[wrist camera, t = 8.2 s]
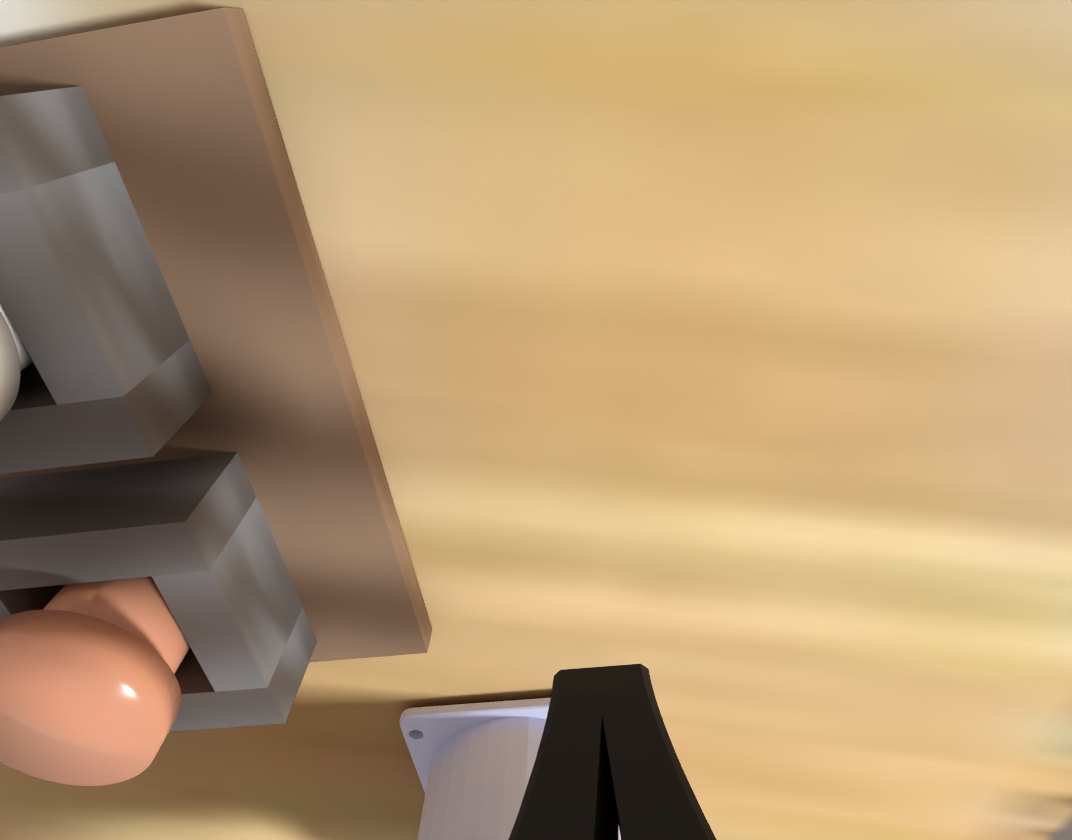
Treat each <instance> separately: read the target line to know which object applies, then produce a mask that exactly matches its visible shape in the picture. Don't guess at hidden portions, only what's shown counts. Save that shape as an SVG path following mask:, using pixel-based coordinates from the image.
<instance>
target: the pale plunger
mask: <svg viewBox="0 0 1072 840" xmlns="http://www.w3.org/2000/svg"><path fill="white" fill-rule="evenodd" d="M33 363H34V362H33V361H32V359H31V357H30V355H29V353H28V351H27V350H26V348H25V346H24V344H23V342H22V341H21V339H20V337H19V335H18V333H17V332H16V330H15V328H14V326H13V324H12V322H11V321H10V319H9V317H8V315H7V313H6V312H5V310H4V308H3V306H2V304H1V302H0V421H1V420H2V419H3V418H4V417H5V416H6V414H7V413H8V412H9V411H10V409H11V408H12V406H13V404H14V402H15V400H16V397H17V394H18V390H19V385H20V371H22V370H23V369H25V368H26V367H28V366H29V365H31V364H33Z"/></svg>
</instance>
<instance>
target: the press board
mask: <svg viewBox="0 0 1072 840" xmlns="http://www.w3.org/2000/svg"><path fill="white" fill-rule="evenodd" d="M0 302H1V304H2V306H3V308H4V310H5V312H6V313H7V315H8V317H9V319H10V321H11V322H12V324H13V326H14V328H15V330H16V332H17V333H18V335H19V337H20V339H21V341H22V342H23V344H24V346H25V348H26V350H27V351H28V353H29V355H30V357H31V359H32V361H33V362H34V363H33V364H31V365H29V366H28V367H26V368H25V369H23V370H22V371H20V385H19V390H18V394H17V397H16V400H15V402H14V404H13V406H12V408H11V409H10V411H9V412H8V413H7V414H6V416H5V417H4V418H3V419H2V420H1V421H0V620H2V619H3V618H6V617H8V616H10V615H13V614H16V613H20V612H24V611H31V610H43V609H44V608H45V606H46V605H47V604H48V603H49V602H50V601H51V600H52V598H53V597H54V596H55V595H56V594H57V593H58V592H59V591H60V589H61V588H62V587H63V586H64V585H65V584H76V583H86V582H97V581H107V580H118V579H128V578H138V577H149V576H152V578H153V580H154V582H155V584H156V585H157V587H158V589H159V591H160V593H161V595H162V596H163V598H164V600H165V602H166V604H167V605H168V607H169V609H170V611H171V613H172V614H173V616H174V618H175V620H176V622H177V624H178V625H179V627H180V629H181V631H182V633H183V634H184V636H185V638H186V640H187V642H188V643H189V645H190V648H189V650H188V652H187V653H186V655H185V657H184V659H183V660H182V662H181V664H180V665H179V667H178V669H177V670H176V672H175V674H174V675H175V677H176V679H177V681H178V683H179V686H180V690H181V697H182V701H181V708H180V711H179V714H178V716H177V718H176V720H175V721H174V723H173V725H172V727H171V729H170V730H169V732H175V731H189V730H203V729H216V728H230V727H244V726H258V725H272V724H285V722H286V720H287V717H288V715H289V712H290V710H291V707H292V705H293V702H294V699H295V697H296V694H297V692H298V689H299V687H300V684H301V682H302V679H303V677H304V674H305V671H306V669H307V666H308V664H309V662H318V661H331V660H343V659H356V658H368V657H380V656H393V655H405V654H417V653H427V651H428V646H429V642H430V637H431V632H432V627H431V624H430V620H429V617H428V614H427V611H426V607H425V604H424V601H423V598H422V594H421V591H420V588H419V584H418V581H417V578H416V575H415V571H414V568H413V565H412V561H411V558H410V555H409V552H408V548H407V545H406V542H405V538H404V535H403V532H402V529H401V525H400V522H399V519H398V515H397V512H396V509H395V506H394V502H393V499H392V496H391V493H390V489H389V486H388V483H387V479H386V476H385V473H384V470H383V466H382V463H381V460H380V456H379V453H378V450H377V447H376V443H375V440H374V437H373V433H372V430H371V427H370V424H369V420H368V417H367V414H366V410H365V407H364V404H363V401H362V397H361V394H360V391H359V388H358V384H357V381H356V378H355V374H354V371H353V368H352V365H351V361H350V358H349V355H348V351H347V348H346V345H345V342H344V338H343V335H342V332H341V328H340V325H339V322H338V319H337V315H336V312H335V309H334V305H333V302H332V299H331V296H330V292H329V289H328V286H327V283H326V279H325V276H324V273H323V269H322V266H321V263H320V260H319V256H318V253H317V250H316V246H315V243H314V240H313V237H312V233H311V230H310V227H309V223H308V220H307V217H306V214H305V210H304V207H303V204H302V200H301V197H300V194H299V191H298V187H297V184H296V181H295V178H294V174H293V171H292V168H291V164H290V161H289V158H288V155H287V151H286V148H285V145H284V141H283V138H282V135H281V132H280V128H279V125H278V122H277V118H276V115H275V112H274V109H273V105H272V102H271V99H270V96H269V92H268V89H267V86H266V82H265V79H264V76H263V73H262V69H261V66H260V63H259V59H258V56H257V53H256V50H255V46H254V43H253V40H252V36H251V33H250V30H249V27H248V23H247V20H246V17H245V13H244V10H243V8H223V7H222V8H217V9H211V10H206V11H200V12H195V13H189V14H183V15H178V16H172V17H167V18H161V19H156V20H150V21H144V22H139V23H133V24H128V25H122V26H117V27H111V28H105V29H100V30H94V31H89V32H83V33H78V34H72V35H66V36H61V37H55V38H50V39H44V40H39V41H33V42H27V43H22V44H16V45H11V46H5V47H0Z"/></svg>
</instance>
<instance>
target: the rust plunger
mask: <svg viewBox="0 0 1072 840" xmlns="http://www.w3.org/2000/svg"><path fill="white" fill-rule="evenodd" d="M189 648H190V645H189V643H188V642H187V640H186V638H185V636H184V634H183V633H182V631H181V629H180V627H179V625H178V624H177V622H176V620H175V618H174V616H173V614H172V613H171V611H170V609H169V607H168V605H167V604H166V602H165V600H164V598H163V596H162V595H161V593H160V591H159V589H158V587H157V585H156V584H155V582H154V580H153V578H152V576H149V577H138V578H128V579H118V580H107V581H97V582H86V583H76V584H65V585H64V586H63V587H62V588H61V589H60V591H59V592H58V593H57V594H56V595H55V596H54V597H53V598H52V600H51V601H50V602H49V603H48V604H47V605H46V606H45V608H44V609H43V610H31V611H24V612H20V613H16V614H13V615H10V616H8V617H6V618H3V619H2V620H0V763H2V764H4V765H6V766H8V767H10V768H12V769H14V770H17V771H19V772H21V773H24V774H27V775H30V776H33V777H36V778H39V779H43V780H46V781H51V782H56V783H60V784H68V785H76V786H102V785H110V784H115V783H120V782H123V781H126V780H129V779H131V778H133V777H135V776H137V775H139V774H140V773H142V772H143V771H144V770H146V768H147V767H148V766H149V765H150V764H151V763H152V761H153V759H154V758H155V756H156V754H157V752H158V750H159V749H160V747H161V745H162V743H163V741H164V740H165V738H166V736H167V734H168V732H169V730H170V729H171V727H172V725H173V723H174V721H175V720H176V718H177V716H178V714H179V711H180V708H181V701H182V697H181V690H180V686H179V683H178V681H177V679H176V677H175V675H174V674H175V672H176V670H177V669H178V667H179V665H180V664H181V662H182V660H183V659H184V657H185V655H186V653H187V652H188V650H189Z"/></svg>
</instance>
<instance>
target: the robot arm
mask: <svg viewBox="0 0 1072 840" xmlns="http://www.w3.org/2000/svg"><path fill="white" fill-rule="evenodd" d="M399 724H400V728H401V731H402V733H403V736H404V739H405V741H406V744H407V747H408V749H409V752H410V755H411V757H412V760H413V763H414V766H415V768H416V771H417V774H418V776H419V779H420V782H421V784H422V787H423V790H424V792H425V799H424V804H423V810H422V816H421V821H420V827H419V833H418V839H417V840H716V838H715V836H714V834H713V832H712V830H711V828H710V826H709V824H708V822H707V820H706V818H705V816H704V814H703V812H702V810H701V808H700V805H699V803H698V801H697V799H696V797H695V795H694V793H693V790H692V788H691V786H690V784H689V782H688V780H687V778H686V776H685V773H684V771H683V769H682V767H681V764H680V762H679V760H678V757H677V755H676V753H675V750H674V748H673V745H672V743H671V740H670V738H669V735H668V733H667V730H666V727H665V725H664V722H663V719H662V716H661V714H660V711H659V708H658V705H657V702H656V698H655V695H654V691H653V688H652V684H651V680H650V675H649V670H648V668H646V667H645V666H643V665H642V664H632V665H619V666H606V667H593V668H580V669H567V670H560V671H559V672H558V673H557V674H556V675H554V680H553V687H552V694H551V698H538V699H524V700H511V701H497V702H483V703H470V704H456V705H442V706H429V707H415V708H408V709H406V710H404V711H403V712H402V714H401V717H400V721H399Z"/></svg>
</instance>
